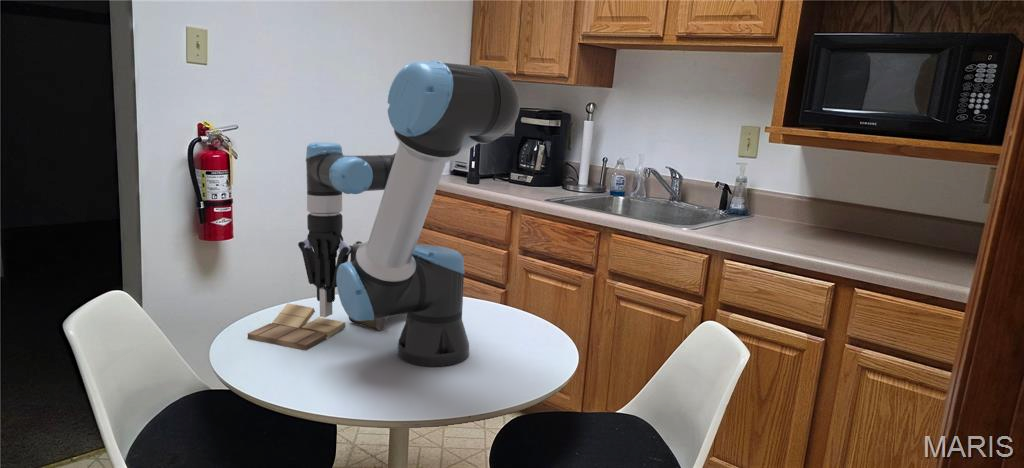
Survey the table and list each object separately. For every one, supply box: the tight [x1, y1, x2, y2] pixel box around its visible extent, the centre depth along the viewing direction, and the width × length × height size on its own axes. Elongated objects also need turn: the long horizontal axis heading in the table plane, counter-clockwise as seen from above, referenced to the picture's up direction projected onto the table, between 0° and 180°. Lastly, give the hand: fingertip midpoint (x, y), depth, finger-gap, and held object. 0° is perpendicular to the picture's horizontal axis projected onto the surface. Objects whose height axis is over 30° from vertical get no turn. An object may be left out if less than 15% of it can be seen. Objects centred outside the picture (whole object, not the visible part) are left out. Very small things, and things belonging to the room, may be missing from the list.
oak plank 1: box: [271, 303, 316, 329], centre depth 154 cm, size 7×6×1 cm
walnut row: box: [247, 322, 328, 351], centre depth 147 cm, size 15×8×1 cm, turn 71°
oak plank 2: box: [301, 316, 346, 338], centre depth 153 cm, size 7×6×1 cm
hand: (326, 315), depth 153 cm, fingers closed
